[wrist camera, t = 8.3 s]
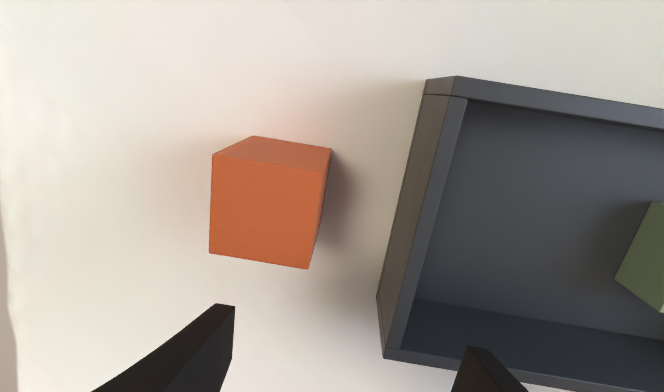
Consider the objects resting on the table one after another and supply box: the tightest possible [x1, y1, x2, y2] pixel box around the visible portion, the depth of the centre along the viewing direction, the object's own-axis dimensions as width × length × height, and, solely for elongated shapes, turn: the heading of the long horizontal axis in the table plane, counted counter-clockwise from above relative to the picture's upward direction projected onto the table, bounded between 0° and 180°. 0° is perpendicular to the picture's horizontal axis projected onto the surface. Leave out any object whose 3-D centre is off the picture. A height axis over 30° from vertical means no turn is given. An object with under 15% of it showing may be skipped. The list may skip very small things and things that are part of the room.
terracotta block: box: [209, 136, 331, 269], centre depth 16 cm, size 4×4×5 cm
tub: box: [376, 76, 664, 392], centre depth 16 cm, size 13×20×5 cm, turn 81°
